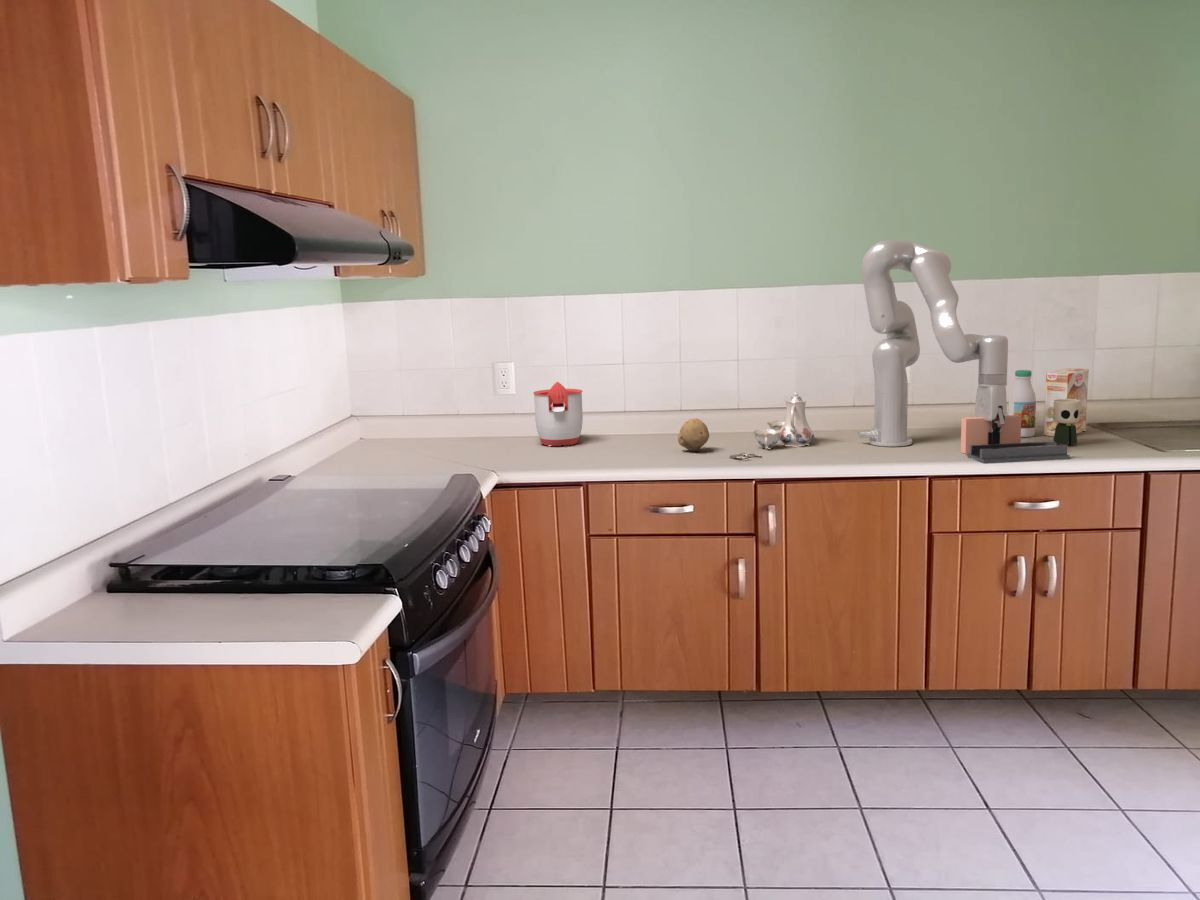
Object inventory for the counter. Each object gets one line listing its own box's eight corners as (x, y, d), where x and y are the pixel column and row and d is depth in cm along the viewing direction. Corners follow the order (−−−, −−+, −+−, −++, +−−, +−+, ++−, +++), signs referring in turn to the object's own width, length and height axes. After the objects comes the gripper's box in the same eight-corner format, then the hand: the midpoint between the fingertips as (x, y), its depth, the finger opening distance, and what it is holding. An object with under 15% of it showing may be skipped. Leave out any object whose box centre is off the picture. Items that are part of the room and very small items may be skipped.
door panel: (965, 454, 288) (966, 419, 286) (960, 452, 291) (961, 417, 289) (1020, 451, 289) (1021, 416, 288) (1014, 449, 292) (1016, 415, 290)
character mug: (1051, 447, 294) (1053, 402, 291) (1040, 443, 301) (1042, 399, 298) (1089, 446, 294) (1091, 401, 291) (1078, 442, 301) (1080, 397, 298)
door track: (983, 463, 275) (984, 450, 274) (967, 456, 284) (967, 444, 284) (1069, 458, 277) (1070, 446, 276) (1050, 452, 286) (1050, 440, 286)
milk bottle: (1003, 436, 314) (1005, 371, 311) (1013, 432, 320) (1016, 368, 316) (1028, 438, 309) (1030, 372, 306) (1038, 435, 314) (1041, 369, 311)
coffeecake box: (1065, 438, 308) (1068, 373, 305) (1042, 435, 313) (1044, 372, 310) (1086, 431, 318) (1089, 368, 315) (1063, 429, 323) (1066, 367, 320)
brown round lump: (716, 452, 305) (715, 418, 303) (691, 455, 301) (690, 421, 299) (698, 448, 313) (697, 415, 311) (674, 451, 309) (673, 418, 307)
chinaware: (767, 441, 330) (762, 390, 328) (820, 436, 325) (814, 384, 322) (752, 457, 304) (746, 401, 302) (809, 452, 299) (803, 396, 296)
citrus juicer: (534, 450, 319) (531, 386, 316) (536, 440, 336) (533, 380, 333) (585, 448, 320) (582, 384, 316) (584, 439, 337) (581, 378, 333)
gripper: (966, 377, 294) (964, 440, 297) (993, 383, 278) (991, 450, 281) (991, 376, 295) (989, 439, 298) (1019, 382, 279) (1017, 449, 282)
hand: (990, 444), depth 290 cm, fingers closed on door panel, 3 cm apart
